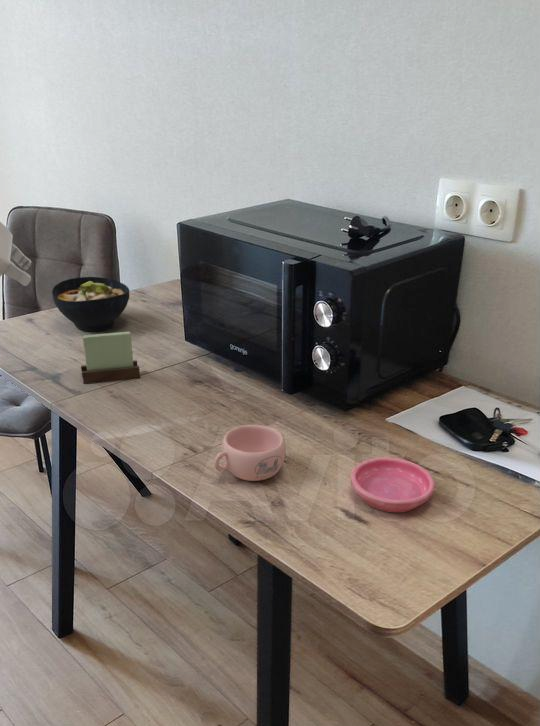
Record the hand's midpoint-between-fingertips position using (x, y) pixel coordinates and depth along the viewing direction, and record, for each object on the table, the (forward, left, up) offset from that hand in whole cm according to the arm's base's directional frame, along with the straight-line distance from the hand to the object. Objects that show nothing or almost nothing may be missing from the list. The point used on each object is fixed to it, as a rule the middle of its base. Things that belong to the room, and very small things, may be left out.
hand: (29, 274), depth 124 cm
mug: (-2, -50, -22) cm, 54 cm away
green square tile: (+10, -7, -22) cm, 25 cm away
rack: (+10, -7, -22) cm, 25 cm away
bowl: (+28, +17, -22) cm, 40 cm away
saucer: (+6, -71, -22) cm, 74 cm away
